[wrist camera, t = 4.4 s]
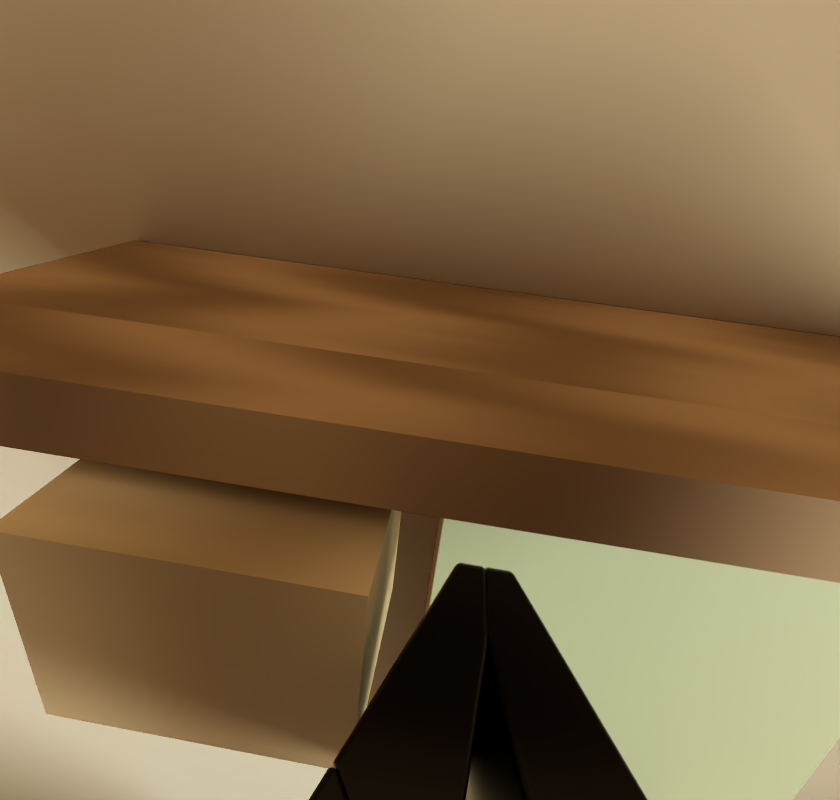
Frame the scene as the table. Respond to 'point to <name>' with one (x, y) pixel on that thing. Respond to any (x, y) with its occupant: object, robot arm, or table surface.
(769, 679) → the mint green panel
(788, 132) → the table surface
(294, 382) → the tan wooden t-shaped piece
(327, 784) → the robot arm
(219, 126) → the table surface
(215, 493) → the tan rectangular block
